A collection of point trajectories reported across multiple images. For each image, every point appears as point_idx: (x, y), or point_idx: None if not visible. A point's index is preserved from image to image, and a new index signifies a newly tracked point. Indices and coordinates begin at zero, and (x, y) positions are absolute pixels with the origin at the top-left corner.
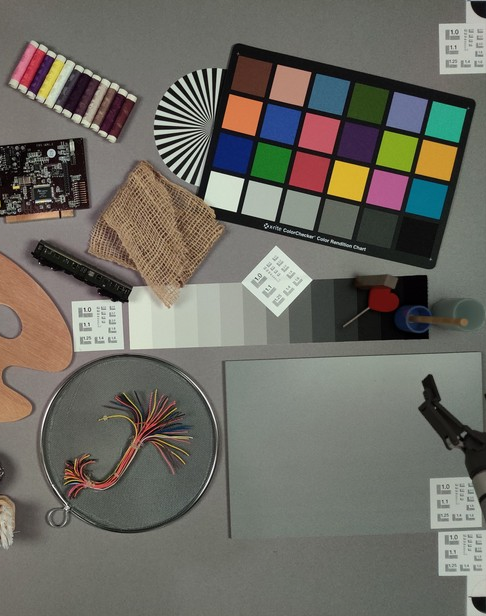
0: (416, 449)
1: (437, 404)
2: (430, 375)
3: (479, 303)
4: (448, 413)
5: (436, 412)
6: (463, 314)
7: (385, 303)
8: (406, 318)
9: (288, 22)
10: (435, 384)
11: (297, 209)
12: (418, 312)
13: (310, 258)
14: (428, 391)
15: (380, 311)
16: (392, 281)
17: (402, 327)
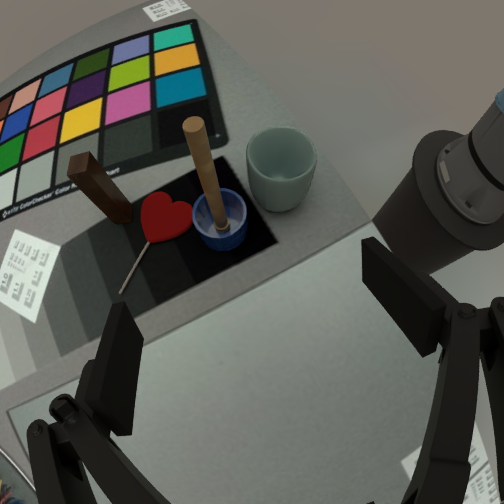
0: (359, 437)
1: (72, 428)
2: (114, 307)
3: (287, 129)
4: (106, 467)
5: (48, 473)
6: (291, 168)
7: (170, 221)
8: (194, 222)
9: (26, 69)
10: (113, 333)
11: (32, 176)
12: (234, 208)
13: (52, 220)
14: (86, 374)
15: (169, 238)
16: (80, 161)
17: (210, 244)
